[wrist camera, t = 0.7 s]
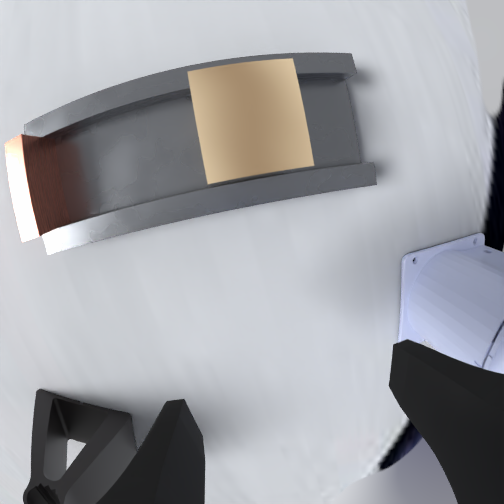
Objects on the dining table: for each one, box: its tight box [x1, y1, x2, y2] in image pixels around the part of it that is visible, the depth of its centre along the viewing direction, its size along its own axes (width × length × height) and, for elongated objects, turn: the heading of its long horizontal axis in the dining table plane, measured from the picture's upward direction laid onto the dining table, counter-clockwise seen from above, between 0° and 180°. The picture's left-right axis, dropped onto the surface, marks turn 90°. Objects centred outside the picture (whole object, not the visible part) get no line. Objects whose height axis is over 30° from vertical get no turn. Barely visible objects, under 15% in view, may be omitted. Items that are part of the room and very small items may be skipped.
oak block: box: [188, 58, 314, 184], centre depth 12 cm, size 4×4×4 cm
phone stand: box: [23, 389, 137, 504], centre depth 14 cm, size 9×6×12 cm, turn 79°
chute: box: [5, 53, 377, 254], centre depth 13 cm, size 18×7×4 cm, turn 100°
